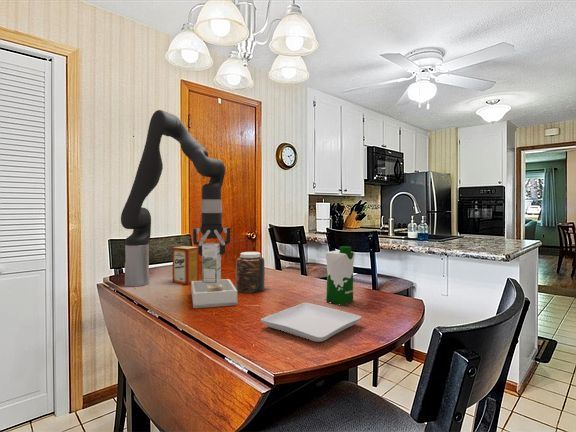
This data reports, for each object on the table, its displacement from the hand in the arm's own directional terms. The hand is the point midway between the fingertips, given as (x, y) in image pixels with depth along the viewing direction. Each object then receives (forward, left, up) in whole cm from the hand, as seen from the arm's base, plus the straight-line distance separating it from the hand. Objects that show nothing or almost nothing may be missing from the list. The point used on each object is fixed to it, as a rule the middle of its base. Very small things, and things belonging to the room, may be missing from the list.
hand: (211, 255), depth 131 cm
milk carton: (+43, -21, -16) cm, 50 cm away
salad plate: (+24, -42, -16) cm, 51 cm away
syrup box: (0, 0, -10) cm, 10 cm away
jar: (+16, +6, -16) cm, 23 cm away
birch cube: (0, -10, -14) cm, 17 cm away
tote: (0, -5, -15) cm, 16 cm away
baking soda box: (-9, +27, -16) cm, 32 cm away
